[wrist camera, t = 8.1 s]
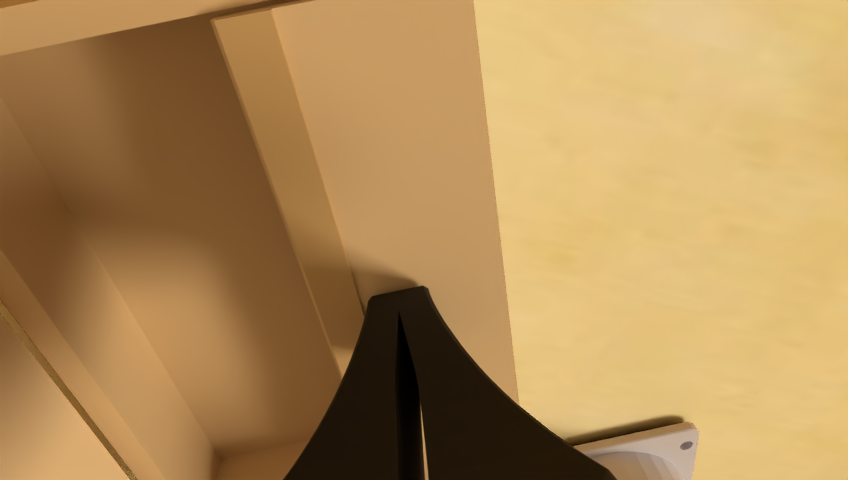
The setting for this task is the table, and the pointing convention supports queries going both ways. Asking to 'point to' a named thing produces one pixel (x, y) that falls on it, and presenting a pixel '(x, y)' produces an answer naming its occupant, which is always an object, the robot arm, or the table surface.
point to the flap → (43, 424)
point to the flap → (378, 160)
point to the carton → (153, 239)
